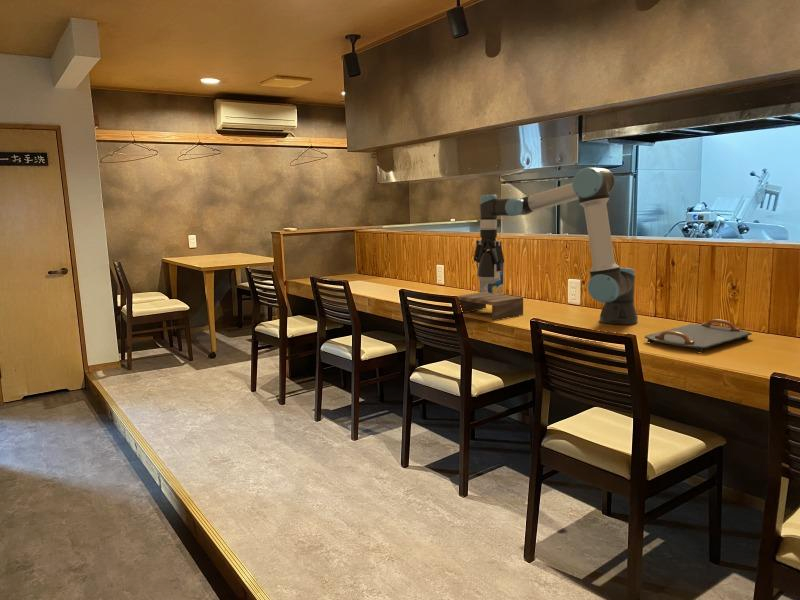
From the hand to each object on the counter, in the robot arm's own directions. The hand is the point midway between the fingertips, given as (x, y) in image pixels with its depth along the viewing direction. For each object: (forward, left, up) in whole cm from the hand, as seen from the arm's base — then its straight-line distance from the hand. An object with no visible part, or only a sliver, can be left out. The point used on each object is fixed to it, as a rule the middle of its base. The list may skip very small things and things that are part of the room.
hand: (488, 277), depth 278 cm
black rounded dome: (0, 0, -3) cm, 3 cm away
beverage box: (+32, -34, -17) cm, 50 cm away
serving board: (-91, -16, -18) cm, 94 cm away
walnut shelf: (0, 0, -17) cm, 17 cm away
